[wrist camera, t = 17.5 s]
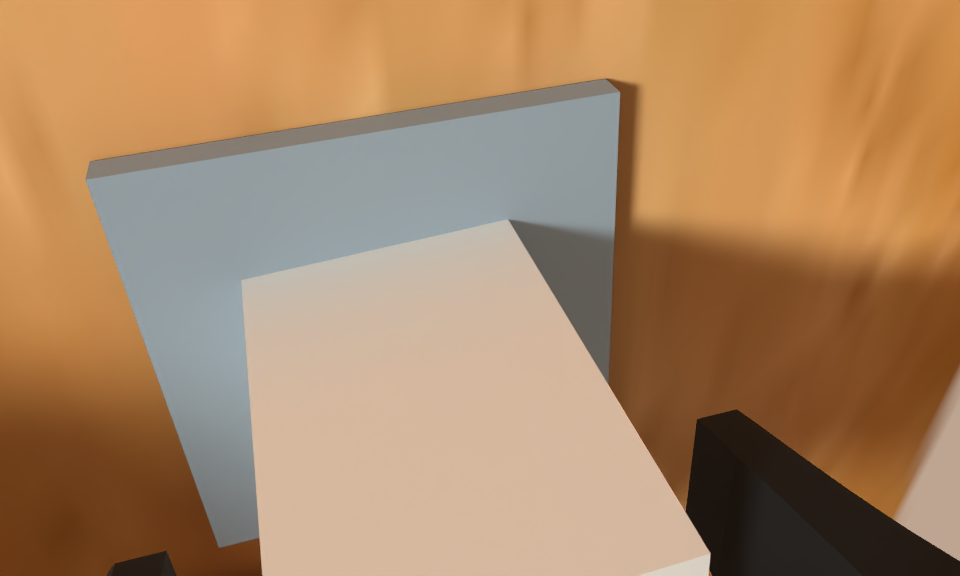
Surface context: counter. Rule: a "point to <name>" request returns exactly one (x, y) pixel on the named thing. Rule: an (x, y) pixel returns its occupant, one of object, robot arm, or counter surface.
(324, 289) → the plug
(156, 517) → the counter surface
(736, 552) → the robot arm
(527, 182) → the rest pad
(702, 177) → the counter surface
